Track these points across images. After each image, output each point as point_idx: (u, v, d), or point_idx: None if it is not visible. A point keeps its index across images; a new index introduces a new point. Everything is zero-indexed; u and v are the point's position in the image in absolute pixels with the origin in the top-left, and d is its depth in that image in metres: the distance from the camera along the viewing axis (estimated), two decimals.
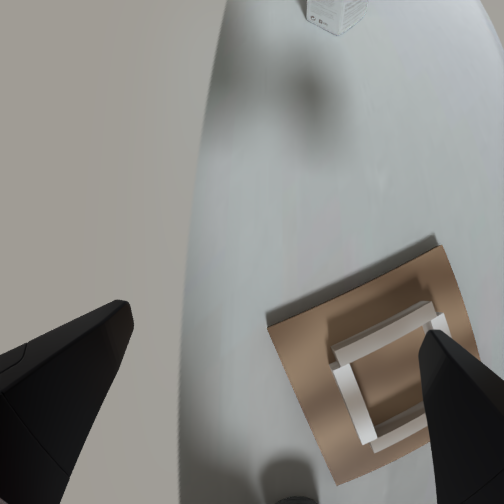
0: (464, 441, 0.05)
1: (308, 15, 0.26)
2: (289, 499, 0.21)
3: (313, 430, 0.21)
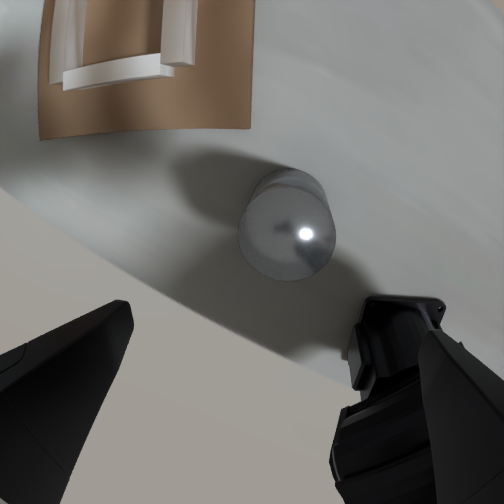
0: (464, 441, 0.05)
1: None
2: None
3: (143, 127, 0.17)
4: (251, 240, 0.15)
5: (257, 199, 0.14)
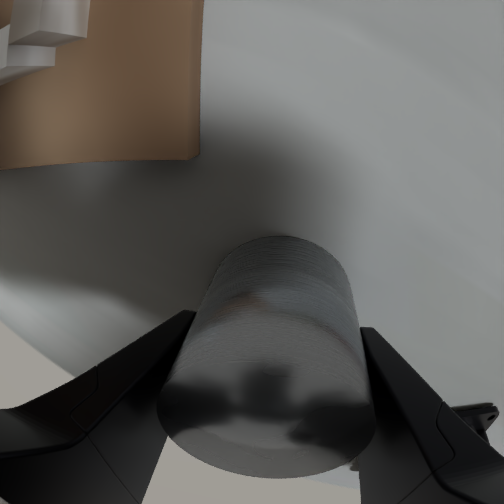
0: (381, 451, 0.05)
1: None
2: None
3: (20, 164, 0.08)
4: (188, 431, 0.06)
5: (187, 372, 0.05)
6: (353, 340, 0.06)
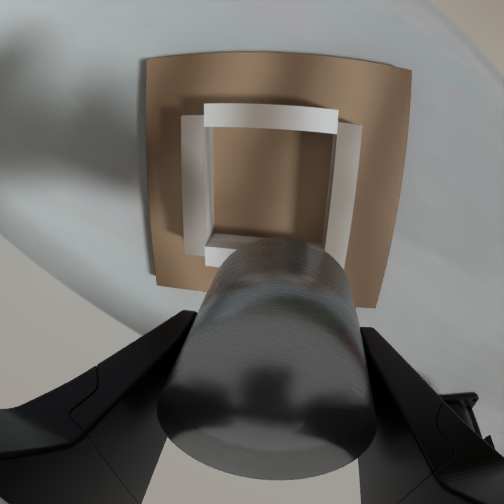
0: (381, 451, 0.05)
1: None
2: None
3: None
4: (188, 433, 0.06)
5: (187, 375, 0.05)
6: (354, 342, 0.06)
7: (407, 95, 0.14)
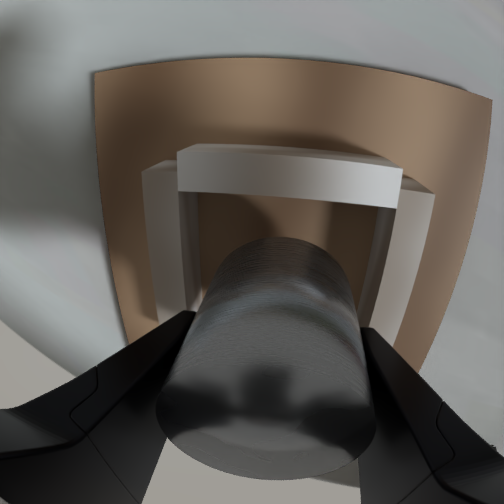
0: (381, 451, 0.05)
1: None
2: None
3: None
4: (187, 433, 0.06)
5: (185, 374, 0.05)
6: (353, 342, 0.06)
7: (485, 137, 0.09)
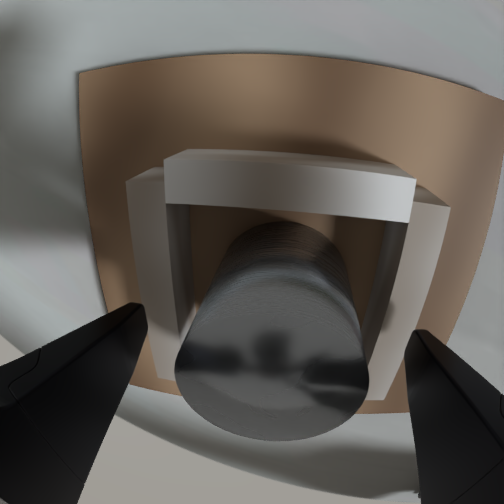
0: (447, 444, 0.05)
1: None
2: None
3: None
4: (201, 390, 0.07)
5: (205, 327, 0.06)
6: (347, 305, 0.07)
7: (501, 143, 0.08)
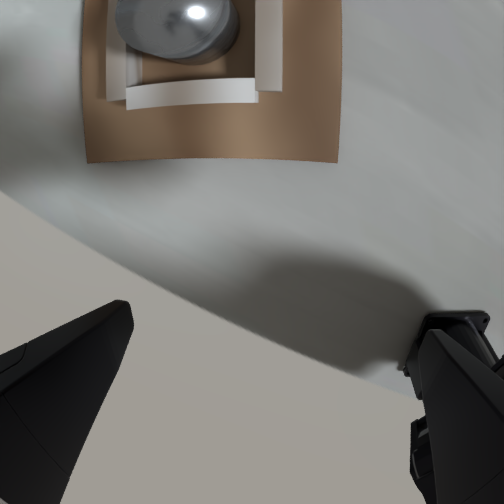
0: (464, 441, 0.05)
1: None
2: None
3: (222, 155, 0.17)
4: (127, 15, 0.09)
5: None
6: None
7: None
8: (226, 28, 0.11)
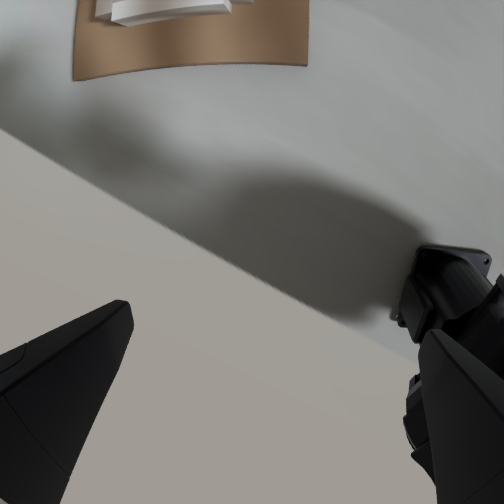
0: (464, 441, 0.05)
1: None
2: None
3: (196, 61, 0.15)
4: None
5: None
6: None
7: None
8: None
